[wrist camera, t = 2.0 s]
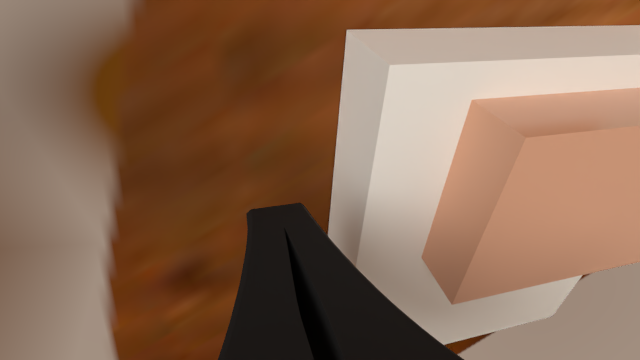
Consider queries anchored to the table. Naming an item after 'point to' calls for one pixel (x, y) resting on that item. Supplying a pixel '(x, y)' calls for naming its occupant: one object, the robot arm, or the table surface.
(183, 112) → the table surface
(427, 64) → the white flat block
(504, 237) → the tile
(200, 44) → the table surface
